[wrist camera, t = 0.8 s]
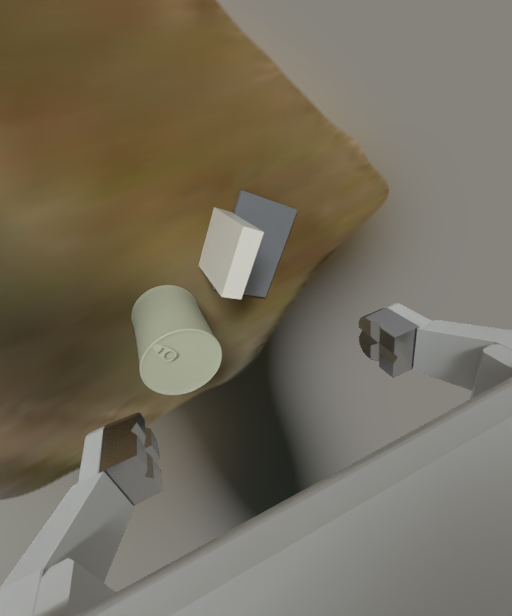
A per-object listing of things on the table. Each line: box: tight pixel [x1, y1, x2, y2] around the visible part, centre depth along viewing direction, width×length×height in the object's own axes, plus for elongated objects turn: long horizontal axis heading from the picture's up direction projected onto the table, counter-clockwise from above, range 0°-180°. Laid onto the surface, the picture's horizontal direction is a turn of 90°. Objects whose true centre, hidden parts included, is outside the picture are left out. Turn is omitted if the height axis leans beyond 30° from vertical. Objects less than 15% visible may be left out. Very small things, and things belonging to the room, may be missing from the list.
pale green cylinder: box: [131, 285, 222, 395], centre depth 37 cm, size 9×9×12 cm
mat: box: [212, 190, 297, 297], centre depth 42 cm, size 9×14×1 cm, turn 160°
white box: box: [199, 207, 264, 300], centre depth 36 cm, size 3×8×10 cm, turn 160°
